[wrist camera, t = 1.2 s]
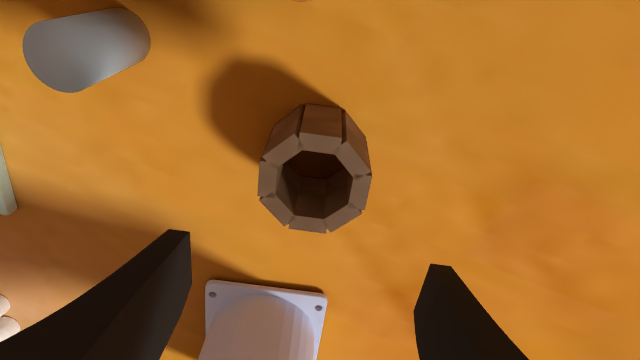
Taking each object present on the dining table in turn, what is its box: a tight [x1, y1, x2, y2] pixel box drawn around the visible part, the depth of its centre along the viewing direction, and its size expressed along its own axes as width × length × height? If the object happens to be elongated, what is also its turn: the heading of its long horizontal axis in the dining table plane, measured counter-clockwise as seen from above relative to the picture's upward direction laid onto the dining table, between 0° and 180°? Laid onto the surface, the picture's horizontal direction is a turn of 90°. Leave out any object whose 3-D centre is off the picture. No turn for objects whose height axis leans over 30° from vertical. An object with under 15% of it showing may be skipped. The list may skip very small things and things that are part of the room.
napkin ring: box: [258, 103, 372, 233], centre depth 20 cm, size 5×5×4 cm
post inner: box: [23, 8, 150, 93], centre depth 17 cm, size 3×3×5 cm
